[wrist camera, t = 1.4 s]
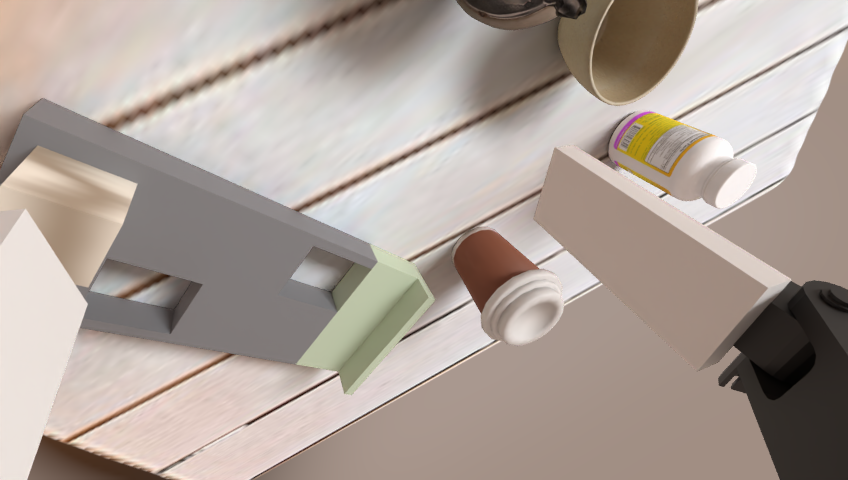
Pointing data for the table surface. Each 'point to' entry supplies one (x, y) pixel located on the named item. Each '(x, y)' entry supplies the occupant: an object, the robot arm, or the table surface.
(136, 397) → the table surface
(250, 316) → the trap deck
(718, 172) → the supplement bottle
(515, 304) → the coffee cup
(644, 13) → the flower pot
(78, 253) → the cream block
